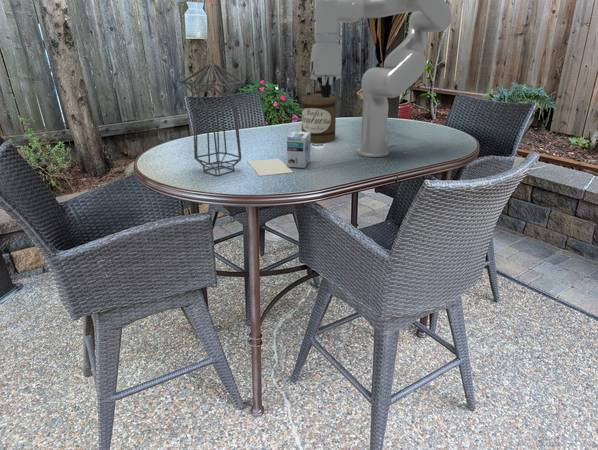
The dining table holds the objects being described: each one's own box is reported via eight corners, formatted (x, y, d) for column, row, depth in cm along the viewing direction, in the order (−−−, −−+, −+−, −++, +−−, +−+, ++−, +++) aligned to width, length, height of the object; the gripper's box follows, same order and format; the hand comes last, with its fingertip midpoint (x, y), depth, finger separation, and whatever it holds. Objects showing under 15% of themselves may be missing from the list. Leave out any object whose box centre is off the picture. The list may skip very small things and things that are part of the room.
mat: (278, 158, 161) (278, 158, 161) (293, 172, 146) (293, 171, 146) (247, 162, 158) (247, 161, 158) (259, 176, 142) (259, 175, 142)
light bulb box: (305, 168, 150) (305, 137, 145) (286, 167, 151) (286, 136, 147) (310, 160, 159) (311, 131, 155) (292, 159, 161) (293, 130, 156)
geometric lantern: (187, 171, 148) (176, 63, 134) (225, 163, 158) (218, 62, 145) (213, 181, 138) (204, 65, 124) (252, 171, 148) (247, 63, 134)
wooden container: (297, 141, 187) (296, 89, 177) (307, 134, 199) (307, 85, 190) (330, 144, 182) (331, 90, 173) (338, 136, 195) (340, 86, 186)
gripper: (342, 39, 146) (340, 94, 154) (301, 39, 142) (301, 96, 150) (352, 39, 140) (349, 97, 148) (309, 39, 136) (309, 99, 143)
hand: (325, 96), depth 149 cm, fingers closed
